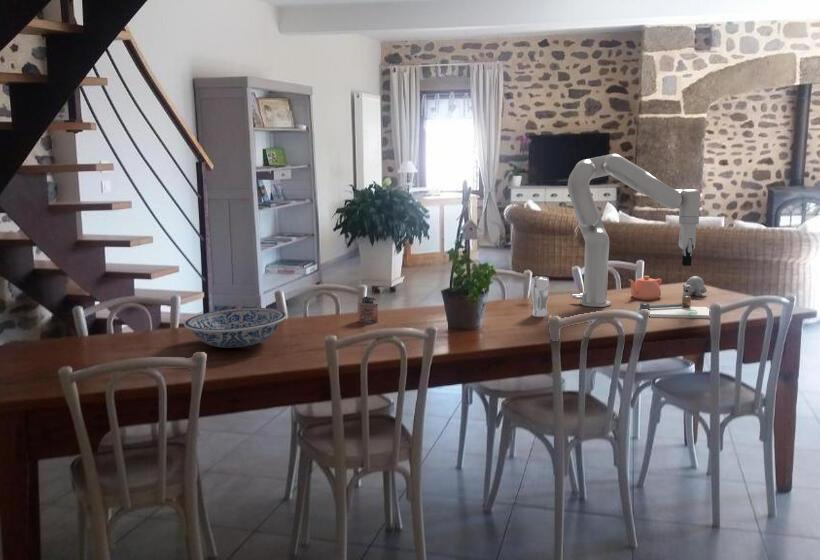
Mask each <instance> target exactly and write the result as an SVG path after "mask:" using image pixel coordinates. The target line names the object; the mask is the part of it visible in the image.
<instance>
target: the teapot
mask: <svg viewBox="0 0 820 560" xmlns="http://www.w3.org/2000/svg"><path fill="white" fill-rule="evenodd" d="M629 282H630V295H631V296H632V297H633V298H634V299H636V300H645V301H650V300H658V299H659V298H660V297H661V296H662V295H661V294H662V291H661V284H662V279H661V278H656V279H655V278H651V277H650V275H643V277H640V278H636V280H633V279H629Z"/></svg>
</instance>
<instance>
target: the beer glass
mask: <svg viewBox="0 0 820 560" xmlns="http://www.w3.org/2000/svg"><path fill="white" fill-rule="evenodd" d="M530 284H531V287H530V288H531V290H530V292H531V293H530V294H531V300H532V313H531V316H532V317H535V318H546V317H548V316H549V315H548V308H547V307H548V306H547V305H548V302H549V301H548V300H549V295H550V278H549V277H547V276H533V277H531V283H530Z"/></svg>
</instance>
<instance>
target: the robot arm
mask: <svg viewBox="0 0 820 560" xmlns="http://www.w3.org/2000/svg"><path fill="white" fill-rule="evenodd" d="M607 176H611V177H613V178H614V179H617V180H618V181H619V182H621V183H623V185H626V186H628V187H629V188H631V189H632V190H634V191H636V192H638V193H640V194H643V195H645V196H647V197H648V198H650V199H652V200H654V201H655V202H657V203H659V204H660V205H661V206H663V207H664V208H666V209H670V210H674V209H675V210H676V209H677V208H678V207H679V210H678V213H679V215H678V224H679V225H680V226H679V235H678V236H679V237H678V247H679V248H680V249H681V250H682V260H681V266H683V267H691V266H692V259H693V258H692V252H693V250H694V249H695V248H696V242H697V225H699V224H700V223H699V222H700V205H701V191H700V190H698V189H695V188H693V189H692V188H691V189H690V188H687V189H686V188H685V189H676V188H673V187H671V186H669V185H667V184H666V183H664V182H663V181H661V180H660V179H658V178H656V177H655V176H653V174H651V173H650V172H648V171H647V170H645V169H643V168H642V167H640V166H638V165H637V164H635V163H633V162H632V161H630V160H629V159H627V158H625V157H623V156H622V155H620V154H617V153H610V154H606V155H601V156H595V157H591V158H586V159H585V158H584V159H582V160H580V161H578V162H577V163H576V164H575V166H574V168H573V169H572V171H571V173H570V174H569V176H568V181H567V190H568V195H569V199H570V201H571V204H572V207H573V210H574V213H575V219H576V221H577V223H578V226H579V229H580V233H581V234H582V237H583V239H584V272H583V273H584V274H583V276H584V277H583V291H582V293H580V294H577V293H573V294H572V299H575V300H579V304H580V305H581V306H584V307H591V308H605V307H609V306H610V305H611V303H612V302H611V300H609V299H608V283H609V282H608V279H609V277H608V276H609V274H608V273H609V255H610V237H609V235H608V233H607V230H606V228H605V225H604V223H603V221H602V217H601V214H600V210H599V208H598V207H597V204H596V203H595V200H594V198H593V195H592V192H591V191H592V190H591V189H590V182H591V180H592V179H596V178H597V179H598V178H601V177H607Z"/></svg>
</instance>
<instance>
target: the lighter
mask: <svg viewBox="0 0 820 560" xmlns="http://www.w3.org/2000/svg"><path fill="white" fill-rule="evenodd" d="M374 301H375V302H374ZM376 301H377V297H376V296H370V295H367V296H361V301H359V302H358V305H359V307H358V308H359V319H358V321H359V322H360V323H366V322H367V323H368V324H379V309H378V307H379V303H378V302H376Z"/></svg>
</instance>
